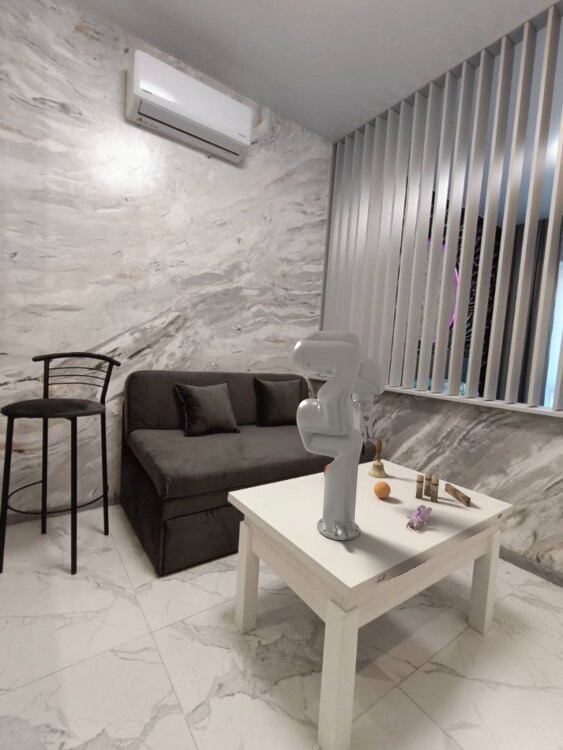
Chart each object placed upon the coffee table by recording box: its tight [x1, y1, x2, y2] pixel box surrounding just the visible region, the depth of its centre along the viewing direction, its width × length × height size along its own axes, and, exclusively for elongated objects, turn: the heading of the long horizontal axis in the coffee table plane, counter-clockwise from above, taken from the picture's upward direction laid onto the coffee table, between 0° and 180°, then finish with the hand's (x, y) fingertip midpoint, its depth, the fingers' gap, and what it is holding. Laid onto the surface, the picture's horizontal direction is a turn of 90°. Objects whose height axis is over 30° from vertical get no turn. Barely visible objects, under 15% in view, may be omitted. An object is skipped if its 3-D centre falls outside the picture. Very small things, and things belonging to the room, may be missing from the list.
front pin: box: [415, 474, 425, 500], centre depth 133 cm, size 2×2×8 cm
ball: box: [373, 480, 392, 499], centre depth 132 cm, size 6×6×6 cm
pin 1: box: [423, 472, 433, 498], centre depth 136 cm, size 2×2×8 cm
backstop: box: [444, 483, 472, 507], centre depth 134 cm, size 14×2×3 cm, turn 5°
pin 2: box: [429, 476, 440, 503], centre depth 131 cm, size 2×2×8 cm
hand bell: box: [367, 438, 388, 479], centre depth 156 cm, size 8×8×16 cm
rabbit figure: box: [405, 504, 433, 531], centre depth 113 cm, size 6×6×15 cm
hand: (359, 454), depth 130 cm, fingers closed
